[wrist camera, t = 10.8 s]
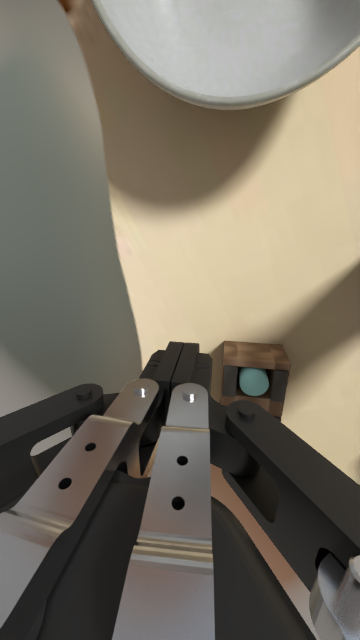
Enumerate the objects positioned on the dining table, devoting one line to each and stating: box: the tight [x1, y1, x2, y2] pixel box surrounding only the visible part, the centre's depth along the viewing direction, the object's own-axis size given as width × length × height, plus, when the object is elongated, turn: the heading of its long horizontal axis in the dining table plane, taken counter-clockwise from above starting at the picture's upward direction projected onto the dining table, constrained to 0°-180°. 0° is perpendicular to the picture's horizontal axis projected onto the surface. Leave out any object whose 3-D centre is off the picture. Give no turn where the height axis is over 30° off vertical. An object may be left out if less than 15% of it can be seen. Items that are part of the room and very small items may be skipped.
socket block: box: [220, 341, 291, 422], centre depth 41 cm, size 9×15×6 cm, turn 0°
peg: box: [238, 366, 269, 396], centre depth 39 cm, size 4×4×6 cm
